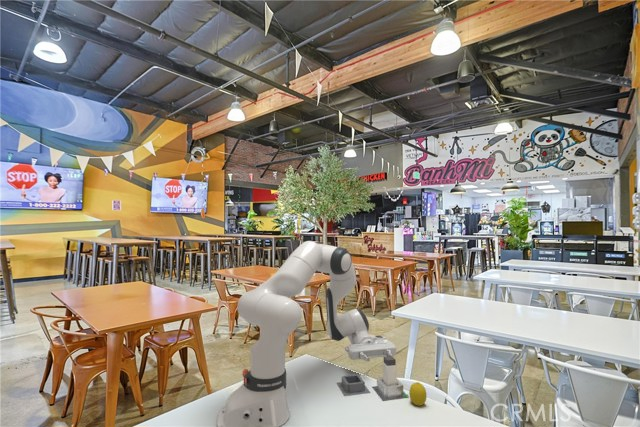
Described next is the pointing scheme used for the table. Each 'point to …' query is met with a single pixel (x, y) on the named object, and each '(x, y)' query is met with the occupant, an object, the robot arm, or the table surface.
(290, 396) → the table surface
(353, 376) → the holster
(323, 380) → the table surface
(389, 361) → the plug
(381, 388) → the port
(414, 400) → the lemon
